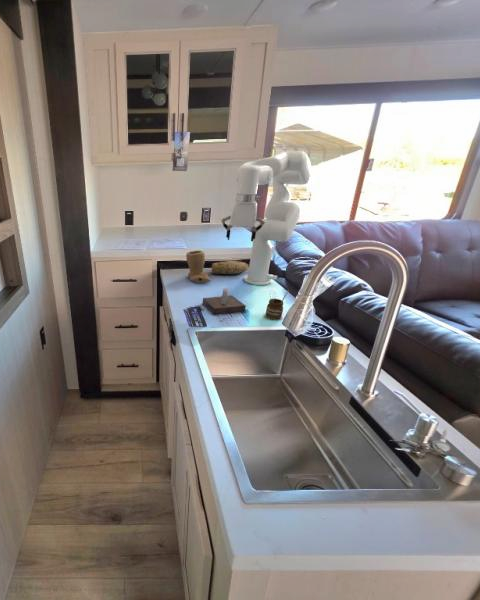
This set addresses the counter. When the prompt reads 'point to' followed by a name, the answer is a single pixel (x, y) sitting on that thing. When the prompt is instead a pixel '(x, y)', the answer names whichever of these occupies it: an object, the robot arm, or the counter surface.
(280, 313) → the utensil holder
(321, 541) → the counter surface
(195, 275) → the tan fabric boot shape
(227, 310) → the brown flat wooden block
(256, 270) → the robot arm
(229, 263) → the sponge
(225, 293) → the nozzle knob
